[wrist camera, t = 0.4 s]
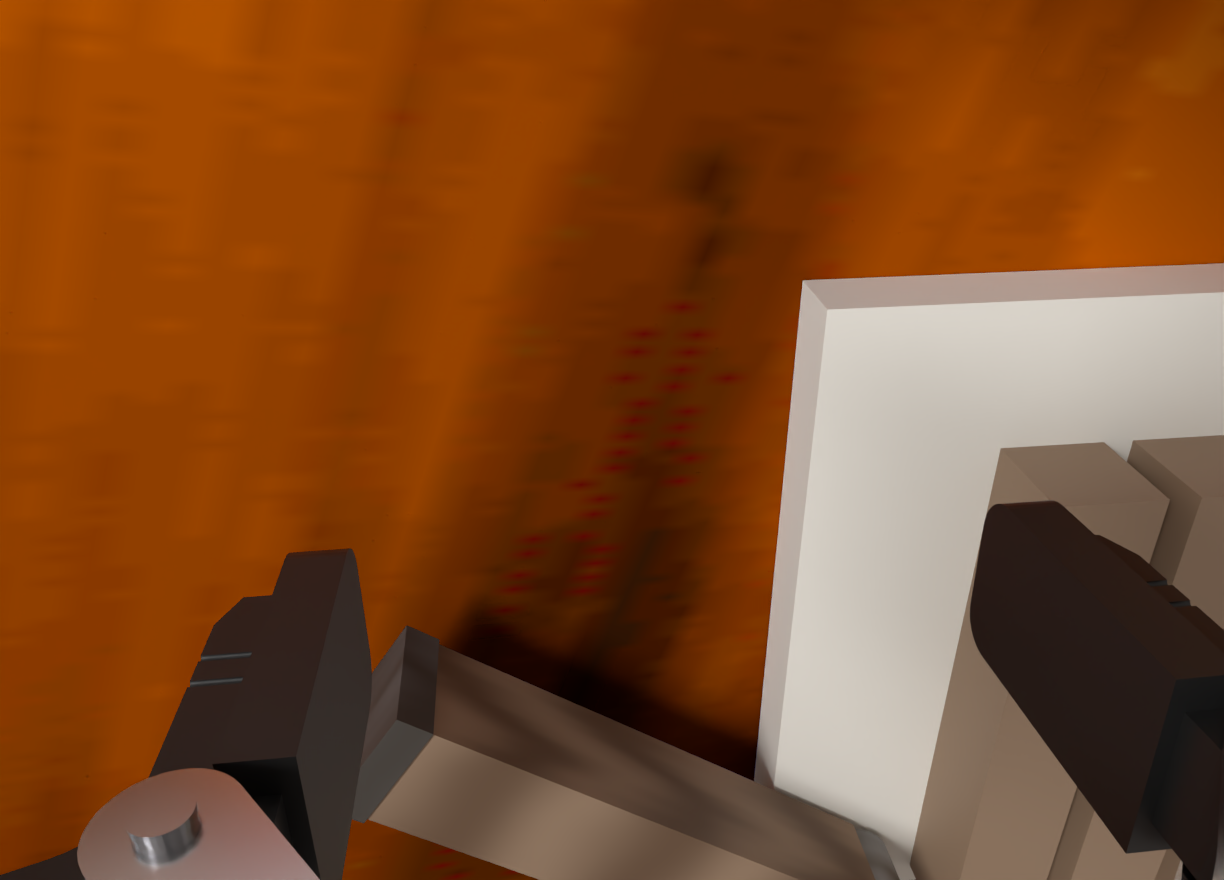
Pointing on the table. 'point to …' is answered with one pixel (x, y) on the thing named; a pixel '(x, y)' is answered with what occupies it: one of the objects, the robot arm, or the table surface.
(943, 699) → the slatted block on base
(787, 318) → the table surface
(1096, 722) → the robot arm
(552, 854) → the hinged leg
